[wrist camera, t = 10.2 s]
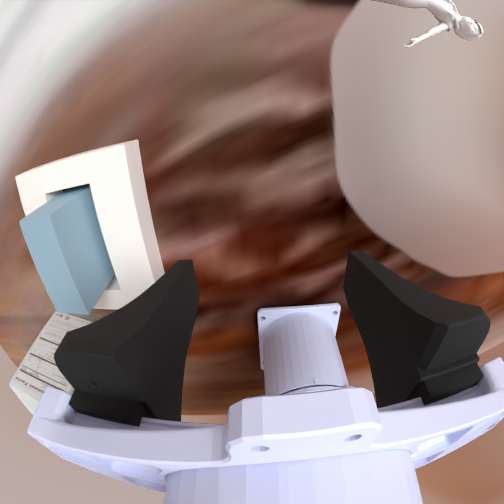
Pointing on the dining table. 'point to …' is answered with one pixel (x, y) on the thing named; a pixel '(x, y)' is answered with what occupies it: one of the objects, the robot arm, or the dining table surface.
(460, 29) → the woman figurine
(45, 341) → the supplement box
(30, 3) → the dining table surface
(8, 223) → the dining table surface
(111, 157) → the white rectangular frame
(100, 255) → the block
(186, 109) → the dining table surface
